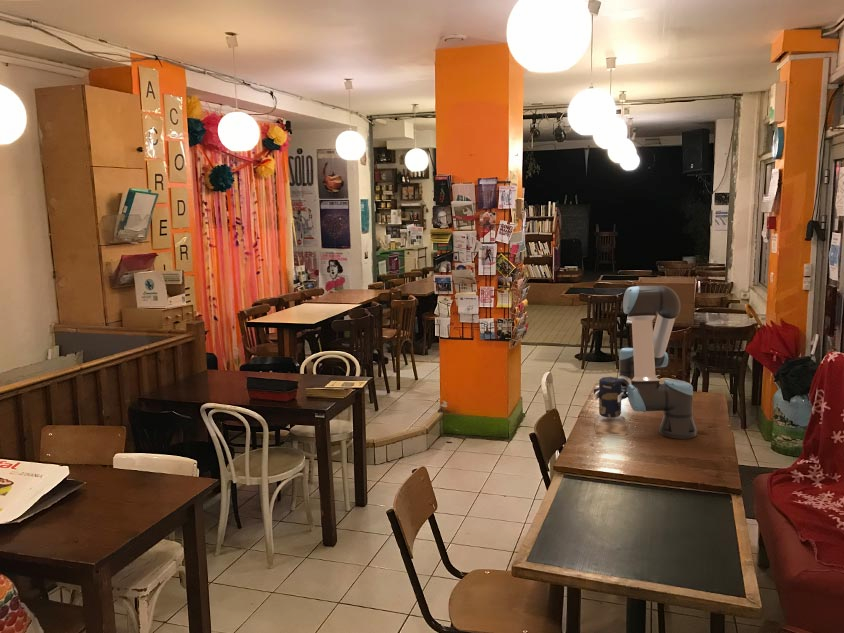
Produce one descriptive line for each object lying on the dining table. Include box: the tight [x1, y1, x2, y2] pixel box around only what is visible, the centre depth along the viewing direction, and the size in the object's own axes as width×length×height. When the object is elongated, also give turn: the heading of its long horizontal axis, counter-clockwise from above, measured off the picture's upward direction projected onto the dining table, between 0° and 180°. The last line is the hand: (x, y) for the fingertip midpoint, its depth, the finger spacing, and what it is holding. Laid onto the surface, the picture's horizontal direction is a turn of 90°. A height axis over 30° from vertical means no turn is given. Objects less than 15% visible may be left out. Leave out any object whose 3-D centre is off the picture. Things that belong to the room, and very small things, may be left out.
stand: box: [594, 415, 628, 435], centre depth 305 cm, size 13×13×5 cm
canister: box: [598, 376, 622, 418], centre depth 304 cm, size 10×10×18 cm
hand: (606, 397), depth 300 cm, fingers closed on canister, 9 cm apart
